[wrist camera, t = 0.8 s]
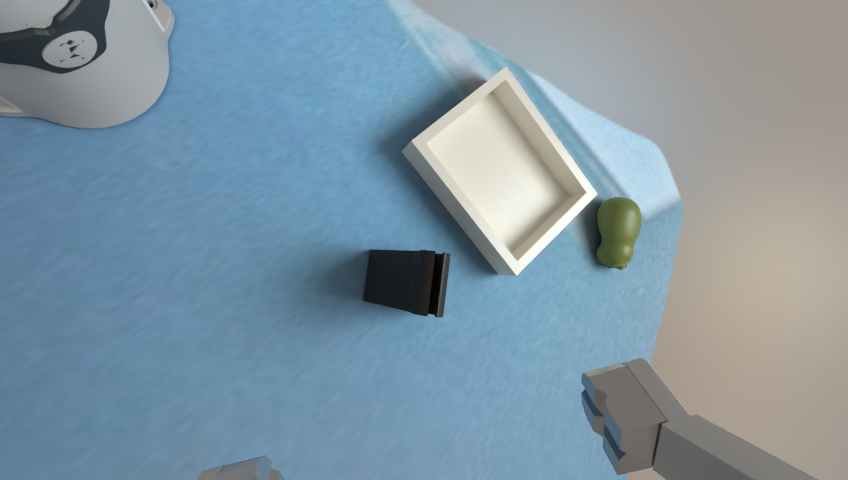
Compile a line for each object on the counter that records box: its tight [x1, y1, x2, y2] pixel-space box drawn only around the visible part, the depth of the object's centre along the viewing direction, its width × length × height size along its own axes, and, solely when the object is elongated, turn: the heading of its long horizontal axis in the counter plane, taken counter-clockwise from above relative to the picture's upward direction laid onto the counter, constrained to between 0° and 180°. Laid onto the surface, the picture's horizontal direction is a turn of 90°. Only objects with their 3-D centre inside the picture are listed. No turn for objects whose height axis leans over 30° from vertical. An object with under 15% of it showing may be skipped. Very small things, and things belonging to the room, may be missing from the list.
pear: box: [596, 197, 641, 270], centre depth 56 cm, size 6×5×10 cm
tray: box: [401, 66, 597, 276], centre depth 50 cm, size 20×16×4 cm
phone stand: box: [363, 250, 450, 317], centre depth 42 cm, size 9×6×12 cm, turn 82°
